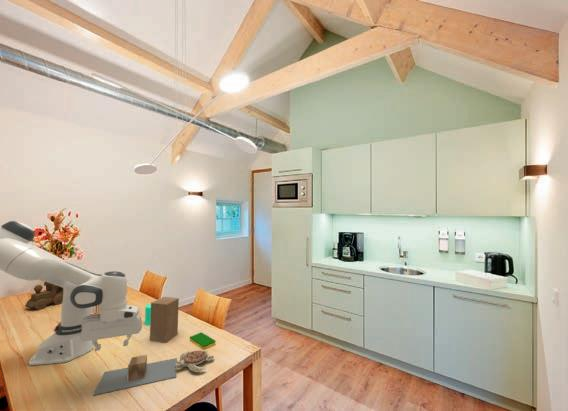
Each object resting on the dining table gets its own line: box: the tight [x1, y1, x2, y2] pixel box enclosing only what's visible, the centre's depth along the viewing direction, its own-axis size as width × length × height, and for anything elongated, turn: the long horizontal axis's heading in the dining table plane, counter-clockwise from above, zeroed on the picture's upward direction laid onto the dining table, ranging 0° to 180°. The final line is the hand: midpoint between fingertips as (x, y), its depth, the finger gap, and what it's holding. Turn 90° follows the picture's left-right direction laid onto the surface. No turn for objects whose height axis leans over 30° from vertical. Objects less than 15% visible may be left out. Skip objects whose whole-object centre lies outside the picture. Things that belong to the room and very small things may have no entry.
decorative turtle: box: [175, 350, 215, 373], centre depth 109 cm, size 18×17×5 cm
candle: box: [144, 304, 151, 326], centre depth 150 cm, size 6×6×12 cm
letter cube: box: [127, 354, 148, 381], centre depth 101 cm, size 6×6×6 cm
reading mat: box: [93, 357, 178, 397], centre depth 101 cm, size 28×14×1 cm, turn 113°
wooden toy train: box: [24, 281, 63, 311], centre depth 175 cm, size 20×11×17 cm, turn 161°
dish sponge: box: [189, 332, 217, 351], centre depth 128 cm, size 7×14×2 cm, turn 50°
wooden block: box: [149, 296, 180, 344], centre depth 133 cm, size 10×10×20 cm
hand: (112, 347), depth 98 cm, fingers open, 8 cm apart
